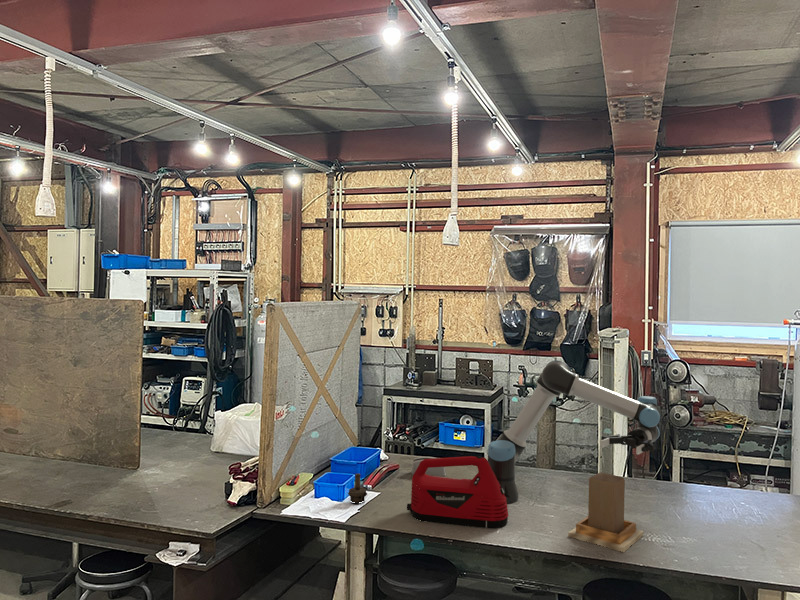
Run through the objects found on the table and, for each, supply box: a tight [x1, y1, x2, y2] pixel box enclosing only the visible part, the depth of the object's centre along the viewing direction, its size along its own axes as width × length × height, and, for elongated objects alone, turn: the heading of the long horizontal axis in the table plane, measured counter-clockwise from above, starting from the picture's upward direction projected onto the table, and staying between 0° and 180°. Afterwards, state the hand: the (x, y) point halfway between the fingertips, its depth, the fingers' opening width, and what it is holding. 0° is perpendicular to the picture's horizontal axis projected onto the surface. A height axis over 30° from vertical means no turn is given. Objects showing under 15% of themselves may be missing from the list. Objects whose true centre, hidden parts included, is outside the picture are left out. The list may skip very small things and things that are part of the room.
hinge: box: [411, 456, 447, 477], centre depth 288 cm, size 17×5×10 cm, turn 81°
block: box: [587, 472, 626, 534], centre depth 217 cm, size 10×10×20 cm
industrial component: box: [347, 472, 368, 503], centre depth 247 cm, size 9×7×12 cm
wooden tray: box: [567, 515, 644, 553], centre depth 217 cm, size 20×20×4 cm
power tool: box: [406, 455, 509, 530], centre depth 232 cm, size 16×40×25 cm, turn 75°
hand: (619, 447), depth 226 cm, fingers open, 13 cm apart
